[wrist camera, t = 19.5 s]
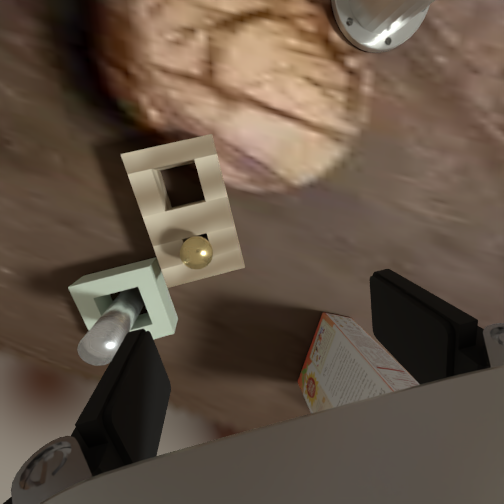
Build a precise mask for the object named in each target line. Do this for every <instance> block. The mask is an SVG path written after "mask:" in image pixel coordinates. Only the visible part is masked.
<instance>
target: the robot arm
mask: <svg viewBox="0 0 504 504" xmlns="http://www.w3.org/2000/svg"><path fill="white" fill-rule="evenodd" d="M434 1H435V0H331V2H332V9H333V13H334V16H335V19H336V22H337V24H338V26H339V28H340V30H341V31H342V33H343V34H344V36H345V37H346V38H347V39H348V40H349V41H350V42H351V43H352V44H353V45H354V46H356V47H358V48H359V49H361V50H364V51H367V52H372V53H381V52H387V51H389V50H392V49H394V48H396V47H398V46H399V45H401V44H402V43H404V42H405V41H406V40H407V39H409V38H410V37H411V36H412V35H413V34H414V33H415V31H416V30H417V29H418V28H419V26H420V24H421V23H422V21H423V20H424V18H425V15H426V13H427V11H428V8H429V5H430V4H431V3H432V2H434ZM370 293H371V309H372V326H373V333H374V335H375V337H376V338H377V339H378V341H379V342H380V343H381V344H382V345H383V346H384V347H385V348H386V349H387V350H388V351H389V352H390V353H391V354H392V355H393V356H394V358H395V359H396V360H397V361H398V362H399V363H400V364H401V365H402V366H403V367H404V368H405V369H406V370H407V371H408V372H409V373H410V375H411V376H412V377H413V378H414V379H415V380H416V381H417V382H418V383H419V384H420V385H416V386H413V387H409V388H405V389H401V390H397V391H394V392H390V393H386V394H382V395H378V396H375V397H371V398H367V399H363V400H360V401H356V402H352V403H348V404H345V405H341V406H337V407H333V408H330V409H326V410H322V411H319V412H315V413H311V414H307V415H304V416H300V417H296V418H293V419H289V420H285V421H282V422H278V423H274V424H271V425H267V426H263V427H260V428H256V429H252V430H249V431H245V432H241V433H238V434H235V435H231V436H227V437H224V438H220V439H216V440H213V441H209V442H206V443H202V444H198V445H195V446H191V447H187V448H184V449H181V450H177V451H173V452H170V453H166V454H163V455H159V456H156V455H157V450H158V446H159V442H160V437H161V433H162V428H163V424H164V419H165V415H166V410H167V406H168V401H169V396H170V392H171V385H170V381H169V378H168V376H167V373H166V371H165V368H164V366H163V363H162V360H161V358H160V355H159V353H158V350H157V348H156V345H155V343H154V340H153V337H152V335H151V333H150V331H145V330H144V329H139V330H135V331H131V332H128V333H127V334H126V336H125V338H124V340H123V341H122V343H121V345H120V347H119V348H118V350H117V352H116V354H115V355H114V357H113V359H112V361H111V362H110V364H109V366H108V368H107V369H106V371H105V373H104V375H103V376H102V378H101V380H100V382H99V383H98V385H97V387H96V389H95V390H94V392H93V394H92V396H91V398H90V399H89V401H88V403H87V405H86V406H85V408H84V410H83V412H82V413H81V415H80V417H79V419H78V421H77V422H76V424H75V426H76V428H75V429H74V431H73V433H72V435H71V436H65V437H60V438H58V439H55V440H53V441H51V442H49V443H48V444H46V445H45V446H43V447H42V448H40V449H39V450H38V451H37V452H35V453H34V454H33V455H32V456H31V457H30V458H29V459H28V460H27V461H26V462H25V463H24V464H23V466H22V467H21V469H20V470H19V471H18V472H17V474H16V476H15V478H14V480H13V482H12V488H11V495H12V497H11V498H9V499H8V500H7V501H6V502H4V503H3V504H504V323H499V324H492V325H489V326H487V327H486V328H484V329H482V328H481V327H479V326H477V325H478V320H477V319H475V318H474V317H472V316H470V315H468V314H467V313H465V312H463V311H461V310H460V309H458V308H456V307H454V306H453V305H451V304H449V303H447V302H446V301H444V300H442V299H440V298H439V297H437V296H435V295H434V294H432V293H430V292H428V291H427V290H425V289H423V288H421V287H420V286H418V285H416V284H414V283H413V282H411V281H409V280H407V279H406V278H404V277H402V276H400V275H399V274H397V273H395V272H394V271H392V270H390V269H385V270H381V271H377V272H374V273H373V276H371V277H370Z"/></svg>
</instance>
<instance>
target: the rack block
mask: <svg viewBox="0 0 504 504" xmlns="http://www.w3.org/2000/svg"><path fill="white" fill-rule="evenodd" d="M135 287H138V288H139V290H140V293H141V296H142V298H143V301H144V303H145V306H146V308H147V311H148V313H145V314H141V315H138V317H137V319H136V321H135V322H134V324H133V326H132V328H131V330H130V331H129V332H131V331H135V330H139V329H144V330H145V331H150V333H151V335H152V337H153V339H156V338H160V337H164V336H167V335H171V334H174V332H175V328H176V324H177V320H178V317H177V314H176V312H175V309H174V306H173V303H172V300H171V297H170V295H169V292H168V289H167V286H166V283H165V280H164V278H163V275H162V272H161V269H160V266H159V263H158V261H157V258H156V257H155V258H151V259H147V260H143V261H139V262H135V263H132V264H128V265H124V266H120V267H116V268H112V269H108V270H104V271H100V272H96V273H92V274H88V275H84V276H82V277H81V278H80V279H78V280H77V281H76V282H74V283H73V284H72V285H70V286H69V287H68V289H69V291H70V293H71V295H72V297H73V299H74V301H75V303H76V305H77V307H78V310H79V312H80V314H81V316H82V318H83V320H84V322H85V324H86V326H87V328H88V330H90V329H91V328H92V327H93V325H94V324H95V323H96V322H97V321H98V319H99V318H100V317H101V316H102V315H103V313H104V312H105V311H106V310H107V309H108V307H109V306H110V305H111V304H112V303H113V301H112V299H111V296H110V294H112V293H116V292H119V291H123V290H127V289H131V288H135Z"/></svg>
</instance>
